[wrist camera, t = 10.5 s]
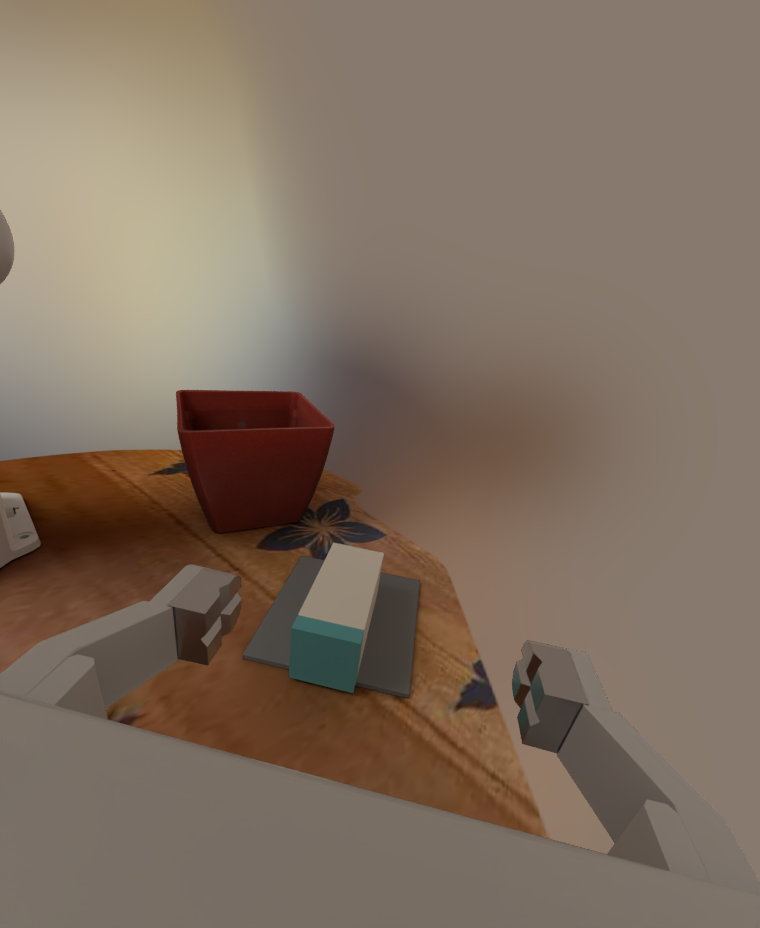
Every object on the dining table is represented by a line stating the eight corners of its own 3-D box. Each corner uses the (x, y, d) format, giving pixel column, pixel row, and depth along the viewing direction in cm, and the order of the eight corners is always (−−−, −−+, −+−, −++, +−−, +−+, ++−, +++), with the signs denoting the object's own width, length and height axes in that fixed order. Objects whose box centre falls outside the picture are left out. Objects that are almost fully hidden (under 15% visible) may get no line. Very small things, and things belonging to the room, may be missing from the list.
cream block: (291, 627, 32) (333, 542, 44) (288, 677, 34) (329, 583, 46) (360, 644, 31) (383, 553, 43) (353, 693, 33) (377, 594, 45)
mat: (408, 698, 34) (409, 694, 34) (242, 658, 36) (242, 654, 36) (419, 583, 49) (419, 580, 49) (301, 558, 50) (301, 555, 50)
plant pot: (186, 553, 48) (176, 429, 42) (183, 487, 64) (175, 388, 57) (327, 531, 57) (337, 426, 51) (295, 477, 72) (299, 391, 66)
